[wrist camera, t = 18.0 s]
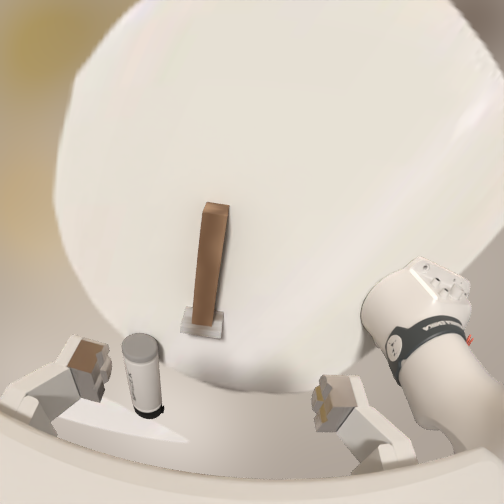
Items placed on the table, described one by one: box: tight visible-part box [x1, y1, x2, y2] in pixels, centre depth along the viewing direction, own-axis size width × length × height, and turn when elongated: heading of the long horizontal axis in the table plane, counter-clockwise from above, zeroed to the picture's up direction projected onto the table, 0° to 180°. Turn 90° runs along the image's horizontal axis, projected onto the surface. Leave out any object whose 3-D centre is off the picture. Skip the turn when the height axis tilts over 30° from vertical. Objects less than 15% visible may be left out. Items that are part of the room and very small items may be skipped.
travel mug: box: [122, 333, 164, 419], centre depth 52 cm, size 6×7×20 cm
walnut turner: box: [180, 202, 229, 339], centre depth 42 cm, size 6×19×5 cm, turn 170°
